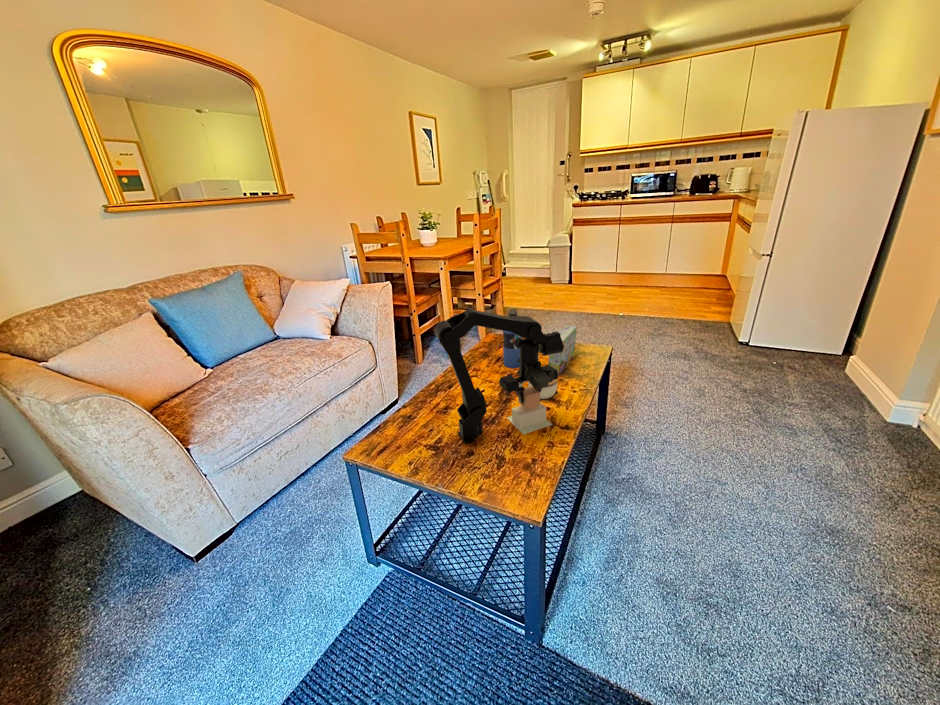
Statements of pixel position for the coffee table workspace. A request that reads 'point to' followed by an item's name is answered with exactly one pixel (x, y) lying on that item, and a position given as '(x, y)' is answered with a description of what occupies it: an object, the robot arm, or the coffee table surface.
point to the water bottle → (511, 346)
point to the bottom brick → (528, 416)
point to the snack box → (564, 358)
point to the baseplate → (532, 427)
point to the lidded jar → (548, 389)
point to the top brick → (530, 398)
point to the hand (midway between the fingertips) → (528, 401)
